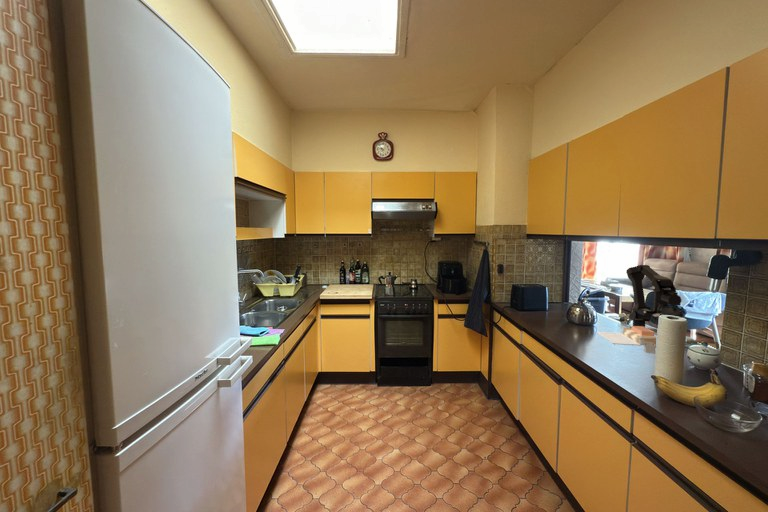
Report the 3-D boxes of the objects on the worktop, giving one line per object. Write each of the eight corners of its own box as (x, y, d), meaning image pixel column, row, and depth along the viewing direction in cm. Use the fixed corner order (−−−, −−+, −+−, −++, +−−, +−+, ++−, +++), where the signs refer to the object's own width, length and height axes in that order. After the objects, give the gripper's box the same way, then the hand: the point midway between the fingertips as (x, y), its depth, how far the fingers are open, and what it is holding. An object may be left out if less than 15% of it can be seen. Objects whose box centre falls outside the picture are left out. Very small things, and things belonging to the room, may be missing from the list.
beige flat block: (653, 352, 152) (655, 337, 151) (655, 353, 151) (656, 338, 150) (636, 350, 155) (637, 335, 154) (638, 351, 153) (639, 336, 153)
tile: (631, 330, 173) (631, 325, 173) (643, 330, 172) (643, 326, 172) (641, 335, 165) (641, 331, 164) (654, 336, 163) (654, 331, 163)
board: (622, 334, 178) (622, 327, 177) (639, 335, 176) (640, 328, 176) (639, 344, 162) (640, 337, 162) (659, 345, 160) (659, 338, 160)
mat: (596, 332, 181) (596, 331, 181) (621, 333, 179) (621, 333, 179) (613, 343, 164) (613, 343, 164) (640, 345, 161) (640, 344, 161)
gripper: (651, 303, 159) (649, 331, 161) (692, 305, 155) (690, 333, 157) (638, 298, 170) (636, 325, 171) (676, 299, 166) (674, 326, 168)
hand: (658, 327), depth 167 cm, fingers closed
